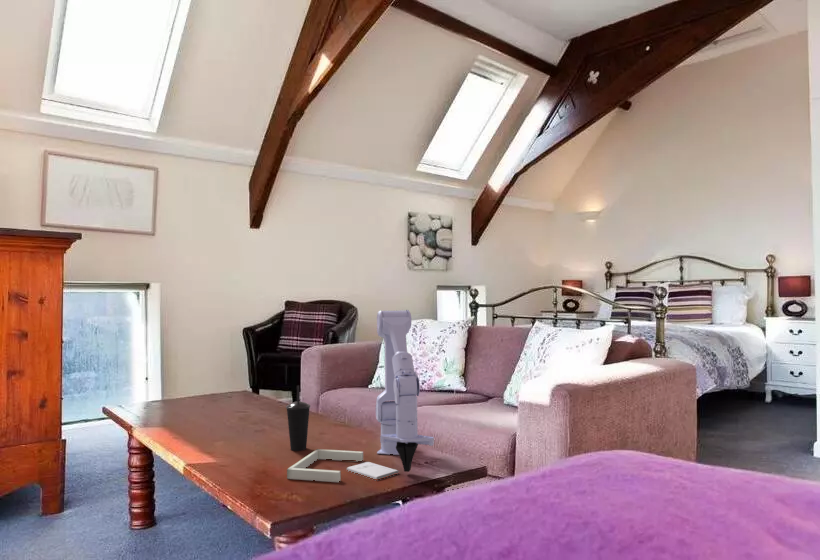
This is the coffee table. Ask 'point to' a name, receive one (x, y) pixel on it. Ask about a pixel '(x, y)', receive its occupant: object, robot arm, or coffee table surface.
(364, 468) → the external hard drive
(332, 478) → the open u-shaped rail
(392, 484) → the coffee table surface
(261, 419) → the coffee table surface
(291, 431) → the drinking cup
